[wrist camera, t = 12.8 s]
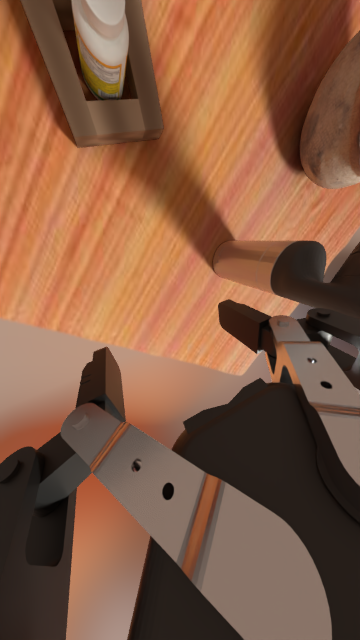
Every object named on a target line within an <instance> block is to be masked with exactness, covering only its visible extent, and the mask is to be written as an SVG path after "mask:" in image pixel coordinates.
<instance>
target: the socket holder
mask: <svg viewBox="0 0 360 640" xmlns="http://www.w3.org/2000/svg"><path fill="white" fill-rule="evenodd" d="M20 1H21V4H22V6H23V9H24V11H25V14H26V16H27V19H28V22H29V24H30V27H31V29H32V32H33V34H34V37H35V39H36V42H37V45H38V47H39V50H40V52H41V55H42V57H43V60H44V63H45V65H46V68H47V70H48V73H49V75H50V78H51V80H52V83H53V86H54V88H55V91H56V93H57V96H58V98H59V101H60V104H61V106H62V109H63V111H64V114H65V116H66V119H67V121H68V124H69V127H70V129H71V132H72V134H73V137H74V139H75V142H76V145H77V147H78V148H80V147H90V146H99V145H108V144H117V143H126V142H135V141H144V140H153V139H159V137H160V135H161V133H162V131H163V129H164V126H163V120H162V115H161V109H160V104H159V98H158V92H157V87H156V81H155V76H154V70H153V64H152V59H151V53H150V48H149V42H148V37H147V31H146V25H145V20H144V14H143V9H142V3H141V0H125V15H126V19H127V24H128V31H129V46H128V54H127V63H126V71H125V72H126V77H127V81H128V85H129V89H130V94H131V98H132V99H124V100H102V101H86V99H85V96H84V93H83V90H82V87H81V84H80V81H79V78H78V75H77V72H76V69H75V66H74V63H73V60H72V57H71V54H70V51H69V48H68V45H67V42H66V39H65V36H64V33H63V30H71V31H75V25H74V18H73V11H72V0H20Z"/></svg>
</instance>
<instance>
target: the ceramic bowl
mask: <svg viewBox="0 0 360 640" xmlns="http://www.w3.org/2000/svg"><path fill="white" fill-rule="evenodd" d="M300 158H301V163H302V166H303V168H304V171H305V174H306V175H307V176H308V178H309V179H310V180H311V181H313V182H314V183H315V184H317V185H318V186H321V187H323V188H327V189H338V188H343V187H347V186H351V185H355V184H357V183H359V182H360V31H359V32H358V33H357V34H356V35H355V36H354V37H353V38H352V39H351V40H350V41H349V42H348V43H347V45H346V46H345V47H344V48H343V50H342V51H341V52H340V54H339V55H338V57H337V58H336V59H335V61H334V62H333V64H332V65H331V67H330V68H329V70H328V71H327V73H326V74H325V76H324V78H323V79H322V81H321V83H320V85H319V87H318V89H317V91H316V93H315V95H314V98H313V101H312V103H311V106H310V108H309V111H308V113H307V116H306V118H305V122H304V125H303V129H302V133H301V139H300Z"/></svg>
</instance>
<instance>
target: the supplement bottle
mask: <svg viewBox="0 0 360 640" xmlns="http://www.w3.org/2000/svg"><path fill="white" fill-rule="evenodd" d="M72 11H73V18H74V25H75V31H76V38H77V45H78V52H79V59H80V64H81V70H82V74H83V77H84V80H85V82H86V85H87V86H88V88H89V90H90V91H91V92H92V94H93V95H94V96H95V97H96V98H97V99H98V100H99V101H102V100H120V99H121V97H122V94H123V88H124V79H125V71H126V63H127V54H128V46H129V31H128V24H127V19H126V15H125V0H72Z"/></svg>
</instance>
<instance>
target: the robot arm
mask: <svg viewBox="0 0 360 640" xmlns="http://www.w3.org/2000/svg"><path fill="white" fill-rule="evenodd" d="M325 266H326V251H325V249H324V247H323V245H322V244H320V243H319V242H316V241H226V242H224V243H222V244H221V245H220V246H219V247H218V249H217V250H216V252H215V255H214V259H213V267H214V271H215V273H216V274H217V275H218V276H219V277H222V278H225V279H228V280H231V281H234V282H237V283H240V284H243V285H246V286H250V287H253V288H256V289H259V290H262V291H266V292H269V293H272V294H275V295H278V296H281V297H284V298H287V299H290V300H293V301H296V302H299V303H302V304H305V305H309V306H311V307H314V308H315V309H311V310H309V311H308V312H307V316H306V318H303V319H297V320H296V319H294V318H292V317H289V316H283V315H279V316H274V317H271V316H268V315H266V314H264V313H262V312H260V311H258V310H255V309H253V308H250V307H249V306H247V305H245V304H239V303H236V302H234V301H232V300H229V299H228V300H226V301H223V302H221V303H219V305H218V310H219V322H220V325H221V326H222V328H223V329H224V330H226V331H227V332H228V333H230V334H231V335H232V336H234V337H235V338H236V339H238V340H239V341H240V342H242V343H243V344H244V345H246V346H247V347H248V348H250V349H251V350H252V351H254V352H255V353H256V354H258V353H260V352H262V351H265V352H266V354H265V356H266V360H267V364H268V368H269V371H270V375H271V379H272V383H265V382H264V381H263V380H262V379H261V378H259V379H257V380H256V381H254V382H252V383H250V384H249V385H247V386H245V387H243V388H242V389H241V391H240V392H239V393H238V394H237V395H236V396H235V397H234V398H233V399H232V400H231V401H230V402H229V403H228V404H225V405H221V406H217V407H214V408H210V409H206V410H203V411H201V412H200V413H198V414H196V415H194V416H193V417H191V418H189V419H187V420H186V421H184V422H183V424H184V426H185V430H184V431H183V433H182V434H181V435H180V436H179V438H178V439H177V440H176V442H175V444H174V446H173V448H172V450H170V449H168V448H167V447H165V446H164V445H162V444H161V443H159V442H158V441H156V440H154V439H153V438H152V437H150V436H148V435H147V434H145V433H144V432H142V431H141V430H139V429H138V428H136V427H134V426H133V425H132V424H130V423H128V422H125V421H126V419H125V409H124V400H123V391H122V381H121V373H120V369H119V366H118V364H117V362H116V360H115V359H114V357H113V355H112V353H111V352H110V350H109V348H108V347H105V348H102V349H99V350H97V351H95V352H94V354H93V361H92V362H89V363H87V365H86V366H85V368H84V369H83V371H82V376H81V382H80V388H79V392H78V398H77V403H76V409H75V410H73V411H72V412H71V413H70V414H69V415H68V417H67V418H66V419H65V421H64V422H63V425H62V427H61V432H60V433H59V434H57V435H56V436H55V437H53V438H52V439H51V440H50V441H48V442H47V443H46V444H44V445H43V446H42V447H40V448H39V449H38V450H36V449H34V448H33V447H24V448H21V449H19V450H17V451H16V452H14V453H13V454H11V455H10V456H9V457H7V458H6V459H5V460H4V461H3V462H2V463H1V464H0V640H66V628H67V614H68V600H69V586H70V574H71V559H72V546H73V531H74V518H75V505H76V491H77V487H78V486H79V485H80V484H81V483H82V482H83V480H85V479H86V478H87V477H88V476H89V475H90V474H91V473H93V474H94V475H95V476H96V477H97V478H98V479H99V480H100V482H101V483H102V484H103V485H104V486H105V487H106V488H107V489H108V490H109V491H110V492H111V493H112V494H113V496H114V497H115V498H116V499H117V500H118V501H119V502H120V503H121V504H122V505H123V506H124V507H125V508H126V509H127V511H128V512H129V513H130V514H131V515H132V516H133V517H134V518H135V519H136V520H137V521H138V522H139V523H140V524H141V526H143V528H144V529H145V530H146V531H147V532H148V533H149V534H150V535H151V536H150V541H149V545H148V549H147V554H146V558H145V563H144V567H143V572H142V576H141V581H140V585H139V590H138V594H137V598H136V603H135V607H134V612H133V616H132V620H131V625H130V629H129V634H128V639H127V640H360V394H359V393H358V391H357V390H356V389H355V388H357V389H359V390H360V242H359V244H358V245H357V246H356V247H355V249H354V250H353V251H352V253H351V254H350V256H349V257H348V259H347V260H346V261H345V263H344V264H343V266H342V267H341V268H340V270H339V271H338V272H337V274H336V275H335V277H334V278H333V279H332V281H331V282H330V283H323V276H324V271H325ZM333 336H335V337H337V338H339V339H341V340H344V341H346V342H348V343H350V344H352V345H354V346H355V347H356V348H357V349H358V351H359V355H358V356H357V358H355V357H353V356H351V355H349V354H347V353H345V352H343V351H341V350H339V349H337V348H335V347H333V346H331V345H330V343H331V340H332V337H333ZM123 422H125V423H123Z"/></svg>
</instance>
